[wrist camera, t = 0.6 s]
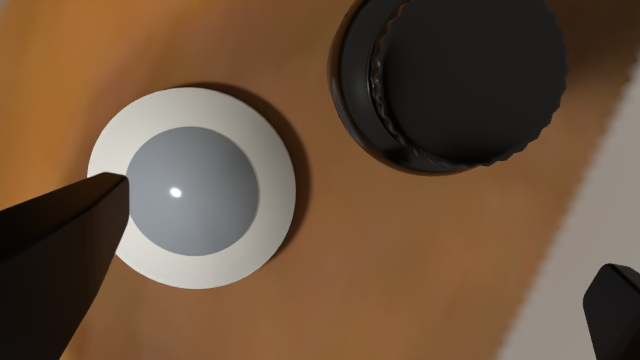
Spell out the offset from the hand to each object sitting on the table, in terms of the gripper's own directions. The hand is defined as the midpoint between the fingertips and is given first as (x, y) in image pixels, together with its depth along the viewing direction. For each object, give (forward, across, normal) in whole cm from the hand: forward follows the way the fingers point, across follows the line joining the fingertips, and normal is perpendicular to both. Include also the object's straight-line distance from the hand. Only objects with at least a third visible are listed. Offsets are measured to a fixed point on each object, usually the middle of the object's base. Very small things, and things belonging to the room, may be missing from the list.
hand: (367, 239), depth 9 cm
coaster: (+14, +6, +8) cm, 17 cm away
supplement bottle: (+16, -2, +1) cm, 16 cm away
